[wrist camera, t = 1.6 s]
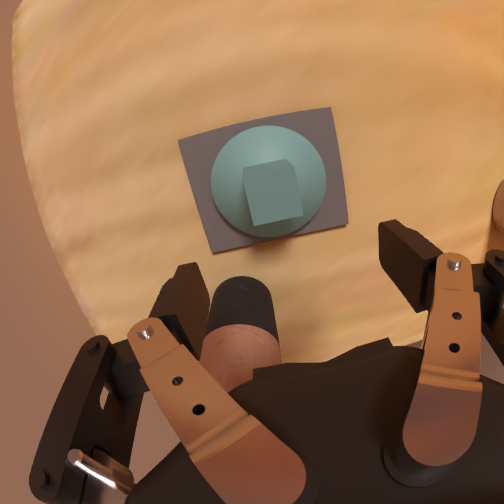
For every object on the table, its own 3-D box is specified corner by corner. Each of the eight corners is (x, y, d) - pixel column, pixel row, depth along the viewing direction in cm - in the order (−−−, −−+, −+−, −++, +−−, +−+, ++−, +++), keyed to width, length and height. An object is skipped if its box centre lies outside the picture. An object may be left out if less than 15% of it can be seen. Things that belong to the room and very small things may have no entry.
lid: (312, 116, 23) (329, 114, 18) (330, 221, 28) (348, 245, 22) (199, 141, 24) (185, 145, 19) (228, 243, 29) (223, 272, 23)
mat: (328, 107, 23) (330, 107, 22) (346, 222, 28) (348, 224, 28) (179, 139, 24) (178, 140, 24) (212, 250, 30) (212, 252, 29)
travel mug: (286, 297, 33) (313, 455, 15) (246, 332, 35) (244, 477, 17) (238, 261, 30) (226, 432, 12) (199, 302, 33) (165, 455, 15)
